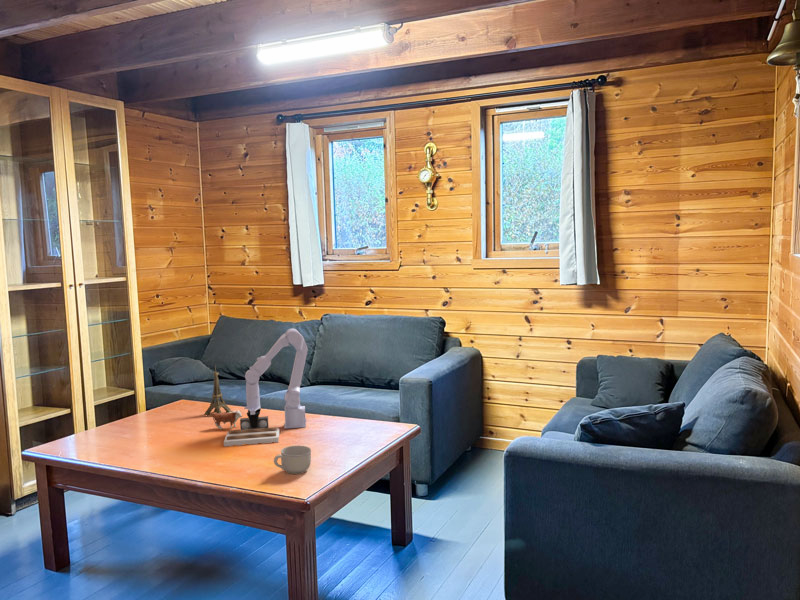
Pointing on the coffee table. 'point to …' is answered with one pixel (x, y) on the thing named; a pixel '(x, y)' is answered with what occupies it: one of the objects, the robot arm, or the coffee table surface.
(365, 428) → the coffee table surface
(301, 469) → the teacup
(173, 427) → the coffee table surface
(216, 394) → the eiffel tower
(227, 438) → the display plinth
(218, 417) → the bull figurine
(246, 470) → the coffee table surface
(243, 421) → the grey rectangular block
